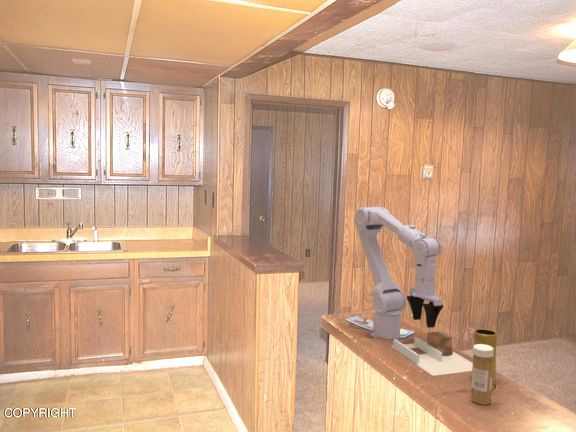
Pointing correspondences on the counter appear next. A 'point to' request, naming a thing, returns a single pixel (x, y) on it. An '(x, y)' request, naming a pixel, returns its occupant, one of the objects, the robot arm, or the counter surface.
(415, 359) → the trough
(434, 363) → the board
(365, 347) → the counter surface
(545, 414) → the counter surface
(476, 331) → the vase
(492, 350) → the sprinkles bottle
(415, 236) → the robot arm
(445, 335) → the walnut block
